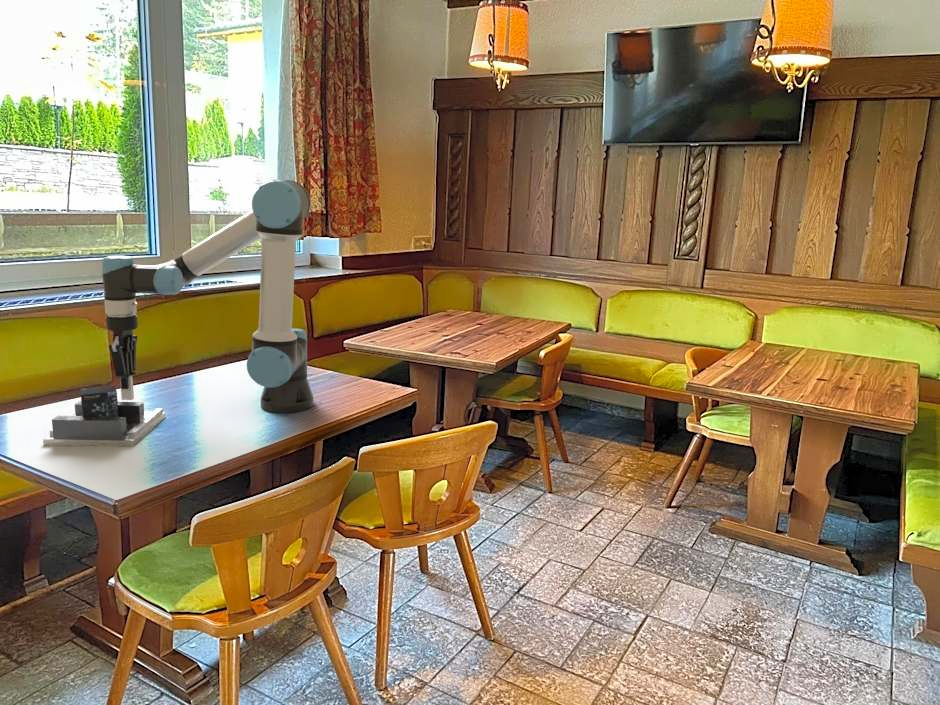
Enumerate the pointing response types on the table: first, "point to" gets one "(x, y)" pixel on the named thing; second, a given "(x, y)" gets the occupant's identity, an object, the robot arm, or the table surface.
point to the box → (99, 402)
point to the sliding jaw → (123, 411)
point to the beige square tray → (101, 430)
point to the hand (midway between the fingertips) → (127, 399)
